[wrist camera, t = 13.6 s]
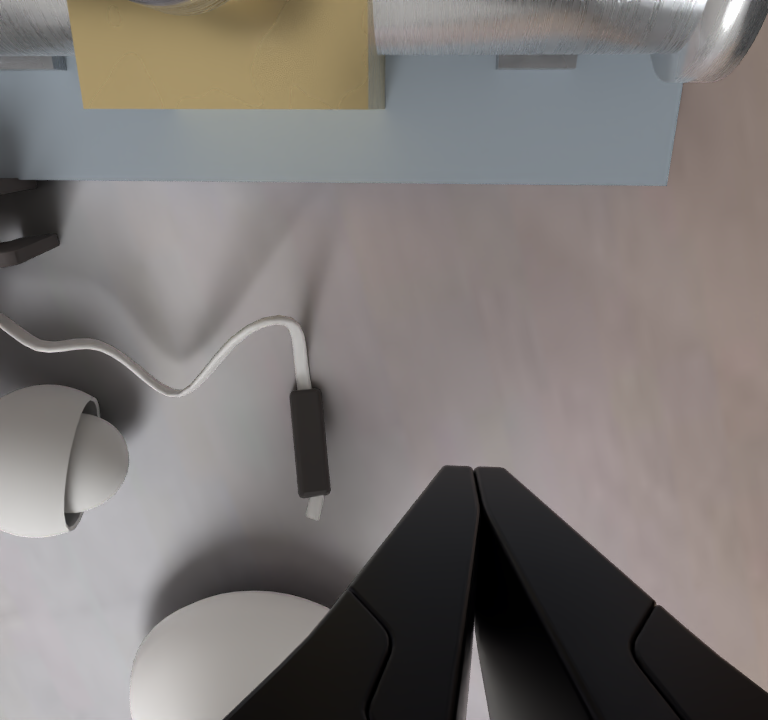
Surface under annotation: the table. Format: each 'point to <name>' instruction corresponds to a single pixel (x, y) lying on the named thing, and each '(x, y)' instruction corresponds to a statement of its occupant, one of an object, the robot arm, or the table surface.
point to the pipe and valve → (351, 44)
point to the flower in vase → (216, 653)
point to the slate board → (366, 129)
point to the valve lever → (182, 6)
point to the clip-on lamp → (100, 438)
